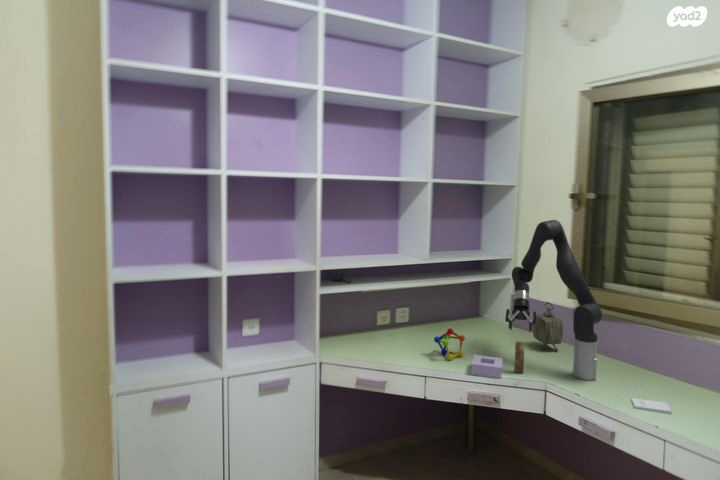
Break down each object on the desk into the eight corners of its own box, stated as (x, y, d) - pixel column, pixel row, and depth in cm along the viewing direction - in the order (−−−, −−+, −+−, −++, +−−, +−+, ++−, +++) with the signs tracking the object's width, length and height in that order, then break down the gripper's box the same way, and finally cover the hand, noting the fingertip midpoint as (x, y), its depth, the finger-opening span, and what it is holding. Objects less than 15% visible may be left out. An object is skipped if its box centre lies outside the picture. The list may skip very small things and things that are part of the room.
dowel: (523, 371, 224) (524, 342, 222) (523, 374, 220) (524, 344, 219) (514, 370, 225) (515, 341, 224) (514, 373, 221) (515, 343, 220)
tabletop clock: (561, 352, 251) (564, 305, 248) (545, 353, 249) (548, 306, 247) (546, 343, 265) (549, 299, 262) (531, 344, 263) (533, 299, 261)
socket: (501, 368, 227) (502, 358, 227) (501, 378, 215) (501, 367, 214) (473, 364, 231) (474, 354, 231) (471, 374, 219) (471, 364, 218)
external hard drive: (671, 415, 183) (634, 409, 187) (666, 406, 190) (630, 400, 195) (671, 411, 183) (634, 405, 187) (666, 402, 190) (631, 397, 195)
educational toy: (442, 352, 252) (445, 323, 251) (465, 358, 244) (467, 328, 243) (427, 357, 240) (430, 327, 239) (450, 363, 232) (453, 332, 231)
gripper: (506, 296, 240) (505, 324, 230) (537, 298, 236) (536, 327, 226) (506, 304, 246) (504, 332, 236) (536, 306, 241) (535, 335, 232)
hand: (520, 330), depth 231 cm, fingers open, 8 cm apart
